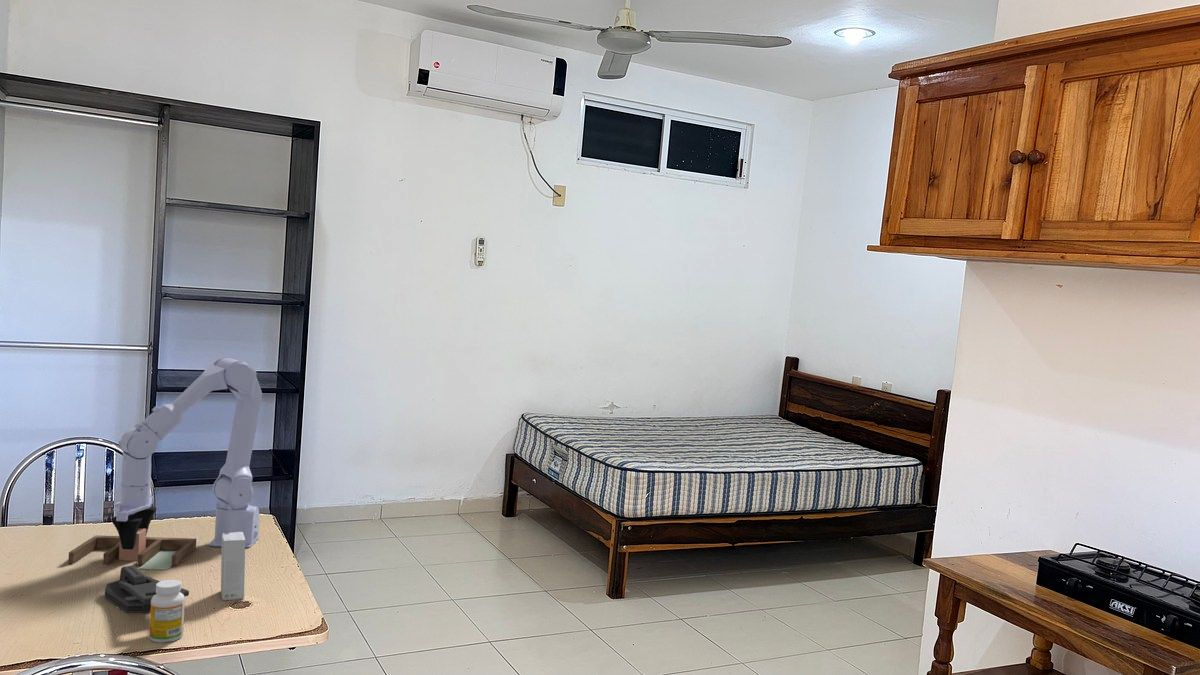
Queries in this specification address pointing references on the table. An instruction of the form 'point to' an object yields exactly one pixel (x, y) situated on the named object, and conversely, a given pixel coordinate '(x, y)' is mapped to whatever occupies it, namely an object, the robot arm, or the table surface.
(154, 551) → the notched rack
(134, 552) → the terracotta block
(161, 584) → the supplement bottle
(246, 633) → the table surface
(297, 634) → the table surface
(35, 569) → the table surface
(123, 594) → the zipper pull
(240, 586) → the skincare box
